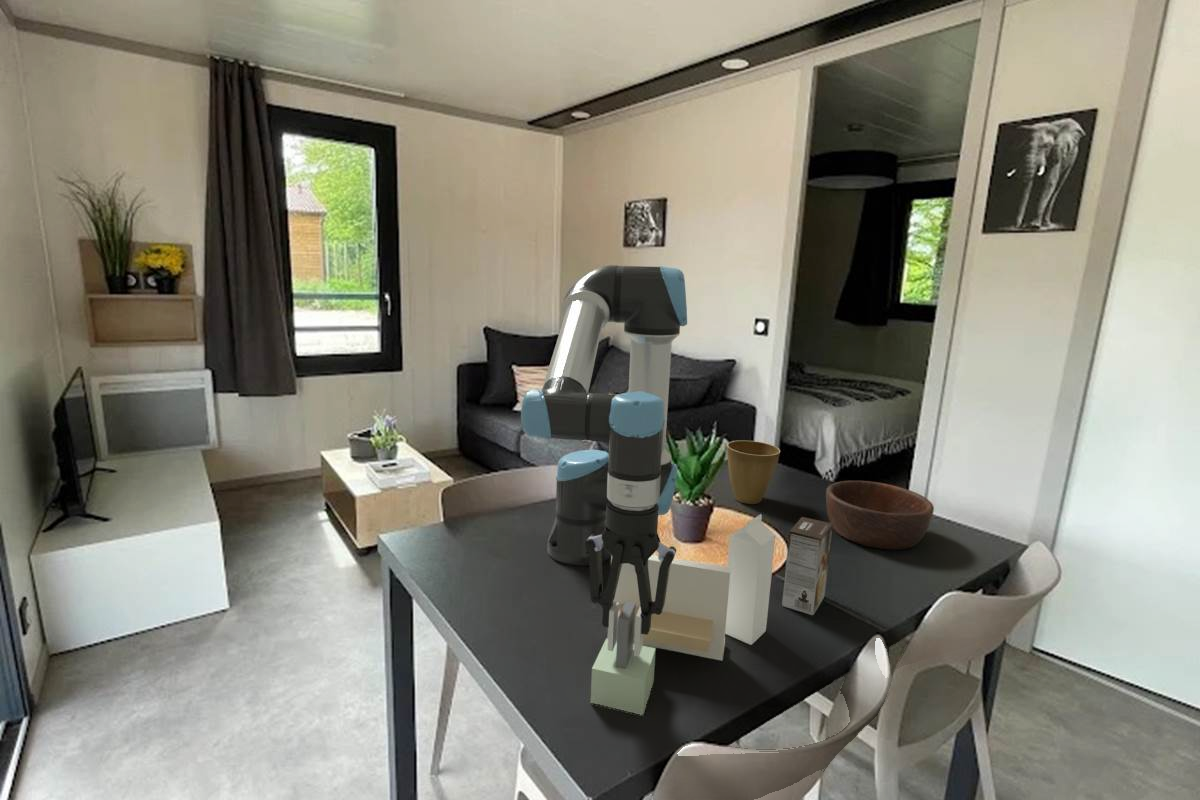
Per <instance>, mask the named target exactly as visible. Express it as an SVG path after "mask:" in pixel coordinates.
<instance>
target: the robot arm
mask: <svg viewBox="0 0 1200 800" xmlns="http://www.w3.org/2000/svg"><path fill="white" fill-rule="evenodd" d="M686 293H687V292H686V281H685V274H684V273H683V271H682V270H680V269H679V268H675V267H665V266H661V265H660V266H641V265H640V266H638V265H636V266H635V265H634V266H633V265H616V264H614V265H613V264H609V265H604V266H600V267H598V268H595V269H593V270H591V271H589V272H587V273H586V274H584V275H583V276H582V277H580V278H578V280H577V281H575V282H574V284H573V285H572V286H571V287H570V288H569V290H568V291H567V292H566V294H565V296H564V299H563V303H562V305H561V316H562V318H563V320H562V324H561V326H560V330H559V333H558V336H557V339H556V342H555V343H556V344H555V346H554V349H553V353H552V356H551V359H550V363H549V366H548V369H547V373H546V375H545V379H544V382H543V385H542V389H541V388H538V389H530V390H528V391H527V392H525V394H524V395H523V398H522V403H521V408H520V423H521V429H522V430H523V433H524V434H525V435H527V436H530V437H534V438H542V439H547V440H551V439H552V440H553V439H554V440H570V441H571V440H573V441H574V440H575V441H591V442H601V443H602V442H603V443H609V444H608V452H607V451H605V450H600V449H585V450H582V449H581V450H577V451H574V452H569V453H567V454H565V455H563V456H562V457H560V459H559V460H558V463H557V469H556V476H555V480H556V490H555V491H556V495H555V499H556V501H555V519H554V523H553V526H552V528H551V530H550V533H549V536H548V539H547V554H548V556H549V557H550V558H552V559H553V560H554V561H557V562H559V563H562V564H566V565H572V566H589V581H590V582H589V585H590V587H589V589H590V601H591V602H592V603H593V604H599V605H601V607H602V619H601V620H602V622H601V624H602V626H603V627H604V628H605V627H606V628H607V638H608V650H609V651H613V649H614V646H615V644H616V642H617V628H618V607H619V603H618V602H614V603H613V600H614V598H615V593H616V588H617V584H618V580H619V576H620V571H621V567H622V564H624V563H629V564H631V565H634V566H635V572H636V574H637V582H638V590H639V598H640V606H641V607H640V608H639V610H638V612H637V615H636V626H635V643H634V656H638V657H639V655H640V652H641V649H642V647H643V646H644V645H643V634H645V635H648V633H649V630H650V627H651V615H652V614H657V615H659V614H661V613H662V610H663V607H664V604H665V598H666V591H667V584H668V577H669V570H670V564H671V563H672V561H673V559H674V558H675V556H676V554H677V549H676V547H675V546H673V545H672V546H667V545H665V544H663V543H662V542H661V538H660V536H659V534H658V527H659V524H658V523H659V516H664V515H666V514H667V513H668V512H670V509H671V507H672V503H673V498H674V494H675V489H676V484H677V476H678V466H677V464H676V463H674V462H672V454H670V452H668V451H667V450H666V441H667V422H668V408H669V406H668V405H669V390H670V377H671V376H670V375H671V360H672V359H671V358H672V344H673V341H674V340H675V339H676V338H678V336H680V329H681V327H684V326H687V325H688V307H687V295H686ZM608 323H622V324H623V331H624V332H623V333H625V335H626V337H628V338H629V340H630V351H629V355H630V356H629V372H628V373H629V376H628V392H623V393H620V394H613V393H611V394H610V393H594V392H589V390H590V386H591V381H592V376H593V372H594V367H595V362H596V357H597V352H598V347H599V342H600V339H601V334H602V330H603V328H605V326H606V325H607V324H608ZM655 552H657V553H658V555H657V556H658V559H659V560H660V561H661V565H660V568H659V575H658V582H657V589H656V596H655V601H653V602H652V596H651V588H650V580H649V572H648V559H649V558H650V557H651V555H654V553H655ZM611 555H612V557H613V558H612V562H611V561H610V570H609V573H608V578H607V583H606V587H605V591H604V588H603V586H604V585H603V584H604V583H603V562H605V561H608V560H609V559H611ZM608 627H609V629H608Z"/></svg>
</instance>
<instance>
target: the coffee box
mask: <svg viewBox="0 0 1200 800" xmlns="http://www.w3.org/2000/svg"><path fill="white" fill-rule="evenodd" d="M833 530H834V529H833V524H832V523H830V522H826V521H822V520H818V519H813V518H808V517H803V516H801V517H800V518H799V520H798V521H796V523H795V524H794V526H793V527H792V528H791V529H790V531H789V535H788V544H787V545H788V546H787V552H786V553H787V555H786V562H785V573H784V583H783V584H784V585H783V590H782V593H783V594H782V601H781V606H782V607H785V608H788V609H790V610H794V611H797V612H801V613H803V614H807V615H810V616H814V615H815V613H816V612H817V610H818V608H819V607H820V605H821V604H822V602H823V600H824V598H825V595H826V587H827V586H826V585H827V578H828V571H829V569H828V568H829V561H830V552H831V545H832V536H833Z"/></svg>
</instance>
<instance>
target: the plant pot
mask: <svg viewBox="0 0 1200 800" xmlns="http://www.w3.org/2000/svg"><path fill="white" fill-rule="evenodd" d="M726 452H727V453H726V455H727V456H726V457H727V465H728V474H729V478H730V479H729V480H730V484H731V488H732V492H733V495H734V498H735V500H736V501H738V502H739V503H743V504H747V505H755V504H759V503H761V502H762V499H763V498H764V496H765V495H766V492H767V490H768V488H769V486H770V484H771V481H772V479H773V476H774V473H775V470H776V469H777V464H778V461H779V458H780V453H781V450H780V448H779V447H778V446H776V445H773V444H770V443H766V442H761V441H756V440H732V441H729V442H727V444H726Z"/></svg>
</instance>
